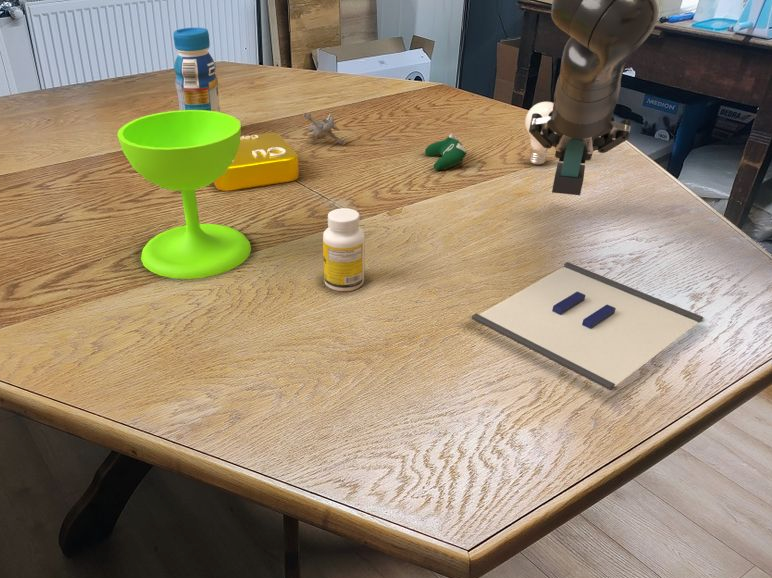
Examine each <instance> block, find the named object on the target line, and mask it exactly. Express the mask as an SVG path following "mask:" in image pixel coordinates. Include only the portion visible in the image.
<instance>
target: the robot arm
mask: <svg viewBox="0 0 772 578" xmlns="http://www.w3.org/2000/svg"><path fill="white" fill-rule="evenodd" d="M658 6H659V5H658V2H657V0H552V2H551V10H550V11H551V12H550V14H551V20H552V22H553V23H554V24H555V26H556V27H558V28H559V29H560V30H561V31H563V32H564V33H565V34H567V35H568V36H570V38H569V39H568V40H567V42H566V44H565V45H564V48H563V51H562V56H561V62H560V68H559V75H558V77H557V80H556V84H555V90H554V93H553V103H554V104H553V111H551V112H550V113H549V115H548V117H542V116H541V115H540V114H538V113H534V114H532V118H531V122H530V128H529V132H530V133H531V134H532V135H533V136H534V137H535V139H536V140H537V141H538V142H539V143H540V144H541V145H542V146H543V147H544V148H548V149H552V147H553V148H555V154H554V157H555V158H556V159H558V162H561V163H563V161H564V156H565V151H566V147H567V145H568V143H569V141H570V140H581V141H583V148H584V150H583V155H582V160H581V164H586V161H588V162H589V161H591V160H592V157H593V153H594V152H595V151H597V152H598V153H600V154H605V153H608V152H609V151H611V150H613V149H614V148H616V147H618V146H619V145H621V144H622V143H625V142H626V141H627V140H629V138H630V134H631V127H632V120H631V119H623V120H621V121H619V122H618V121H615V116H614V111H615V108H616V105H617V103H618V101H619V94H620V91H621V86H622V77H623V73H624V70H625V66H626V64H627V62H628V61H629V59H630V58H631V56H632V55H633V54H634V53H635V52H636V51H637V50H638V49H639V48H640V47H641V46H642V45H643V43H644V42H645V41H647V39H648V38H649V36H650V35H651V34H652V32H653V31H654V29H655V28H656V25H657V22H658V19H659V7H658ZM554 132H555V133H557V134H555V133H554Z"/></svg>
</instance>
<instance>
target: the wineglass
mask: <svg viewBox="0 0 772 578" xmlns="http://www.w3.org/2000/svg"><path fill="white" fill-rule="evenodd" d="M241 132H242V125H241V121H240V120H239V119H238V118H237V117H235V116H234V115H231V114H228V113H224V112H221V111H220V112H216V111H207V110H180V109H179V110H170V111H163V112H157V113H153V114H152V113H151V114H148V115H144V116H142V117H138V118H136V119H132V120H131V121H129V122H126V123H125V124H124V125H122V126H121V127H120V128H118V131H117V139H118V141H119V145H120V148H121V151H122V152H123V154H124V156H125V157H126V159H127V161H128V162H129V164H130V166H131V167H132V169H133V170H134V171H136V172H137V173H138V174H139V176H141V177H142V178H143V179H145V180H146V181H148V182H149V183H151V184H153V185H156V187H157V186H158V187H160V188H162V189H164V190H170V191H178V192H179V191H180V193H181V199H182V206H183V213H184V219H185V225H180V226H176V227H172V228H170V229H166V230H164V231H163V232H160V233H158V234H156V235H155V236H153V237H152V238H151V239H150V240H149V241H147V243H145V245H144V247H143V248H142V251H141V257H140V261H141V263H142V265H143V266H144V268H146V269H147V270H148V271H149V272H151V273H154V274H155V275H157V276H160V277H166V278H169V279H177V280H178V279H179V280H181V279H183V280H192V279H204V278H209V277H213V276H214V277H215V276H217V275H221V274H224V273H227V272H229V271H232V270H233V269H235V268H237V267H239V266H240V265H242V264H243V263H244V262H245V261H246V260H247V259H248V258H249V257H250V255H251V251H252V247H251V242H250V241H249V239H248V238H247V237H246V235H245V234H244V233H242V232H241V231H239V230H237V229H236V228H233V227H230V226H228V225H222V224H217V223H200V216H199V211H198V210H199V209H198V201H197V194H196V190H198V189H202V188H205V187H207V186H210V185H211V184H214V183H213V182H214V181H215V180H216V179H218V178H219V177H220V176H222V175H223V174H224V173H225V172H226V170H227V169H228V168H229V166H230V165H231V163H232V162H233V160H234V158H235V157H236V154H237V151H238V148H239V145H240V137H242V136H241V135H242V133H241Z"/></svg>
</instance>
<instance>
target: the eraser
mask: <svg viewBox="0 0 772 578" xmlns="http://www.w3.org/2000/svg"><path fill="white" fill-rule="evenodd" d="M583 150H584V148H583V141H581V140H570V141H569V143H568V145H567V147H566V151H565V156H564V161H563V162H557V164H556V169H555V174H554V177H553V183H552V184H553V185H552V190H551V193H553V194H563V195H571V196H581V194H582V188H583V183H584V179H585V171H586V165H585V164H582V163H581V160H582V155H583Z"/></svg>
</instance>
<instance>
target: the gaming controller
mask: <svg viewBox="0 0 772 578" xmlns="http://www.w3.org/2000/svg"><path fill="white" fill-rule="evenodd" d="M424 153H425V155H426V156H428V157H434V156H441V157H439V158H438V159H436V161H435V162H434V163H433V169H435V171H437V172H438V171H443V170H446V169H450V168H451V167H453V166H455V165H457V164H459V163H460V162H463V161H464V158H465V157H466V156H467V153H468V152H467V150H466V147H464V144H462V142H460V141H459V138H458V137H457V136H456V135H455V134H453V133H452V132H451V133H450V134H449V135H448V136H447V137H446V138H444V139H443V140H439V141H435V142H433V143H430V144H429V145H427V147H426V148H425V150H424Z"/></svg>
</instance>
